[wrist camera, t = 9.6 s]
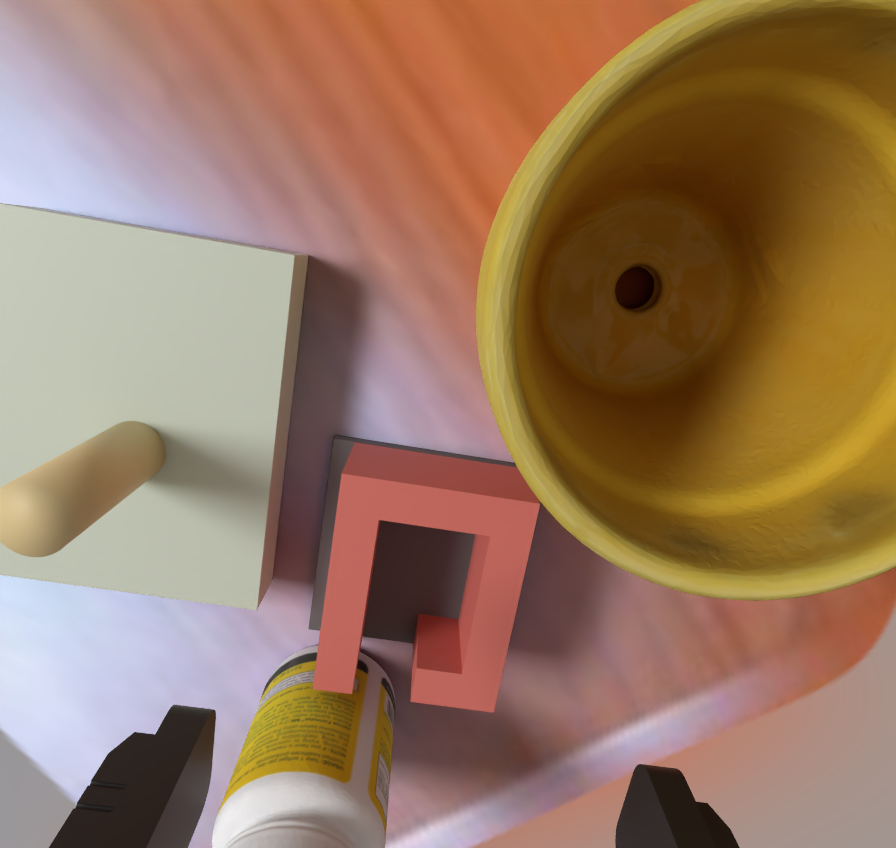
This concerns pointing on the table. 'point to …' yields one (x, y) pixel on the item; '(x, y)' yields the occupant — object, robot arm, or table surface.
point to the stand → (143, 405)
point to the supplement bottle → (313, 763)
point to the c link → (487, 584)
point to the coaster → (399, 561)
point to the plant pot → (711, 302)
